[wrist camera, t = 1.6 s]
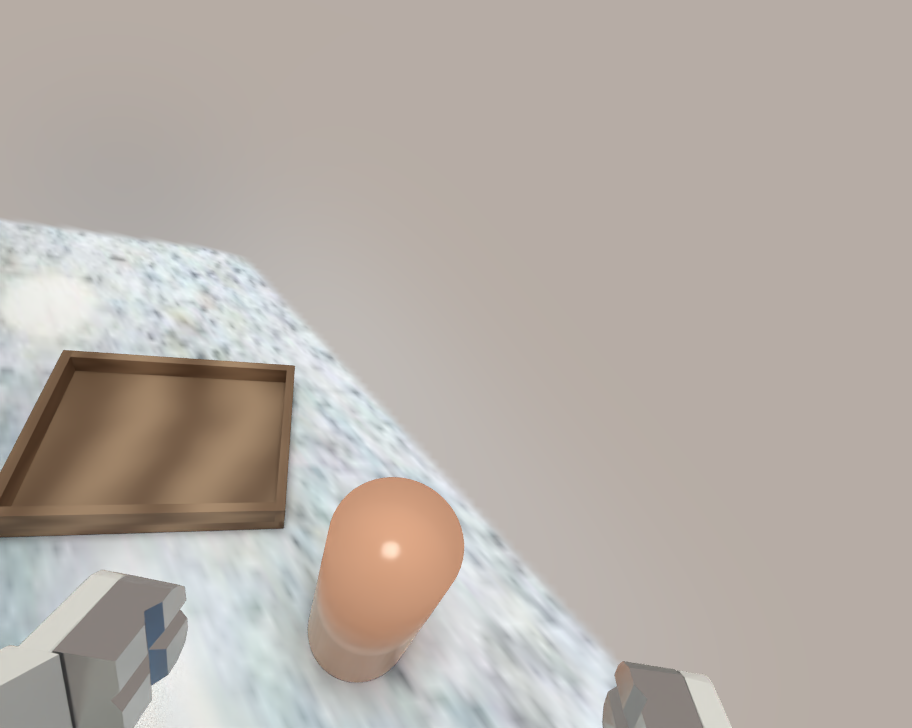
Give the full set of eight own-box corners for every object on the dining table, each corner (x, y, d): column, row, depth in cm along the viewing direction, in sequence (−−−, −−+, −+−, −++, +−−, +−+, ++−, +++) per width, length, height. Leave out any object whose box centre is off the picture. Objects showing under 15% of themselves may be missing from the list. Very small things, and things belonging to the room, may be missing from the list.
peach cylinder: (305, 689, 28) (327, 616, 20) (309, 575, 32) (328, 477, 24) (415, 675, 30) (475, 603, 22) (405, 569, 34) (452, 477, 26)
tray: (-7, 537, 29) (-23, 516, 27) (71, 373, 38) (63, 350, 36) (283, 528, 34) (285, 510, 32) (293, 385, 43) (294, 365, 41)
